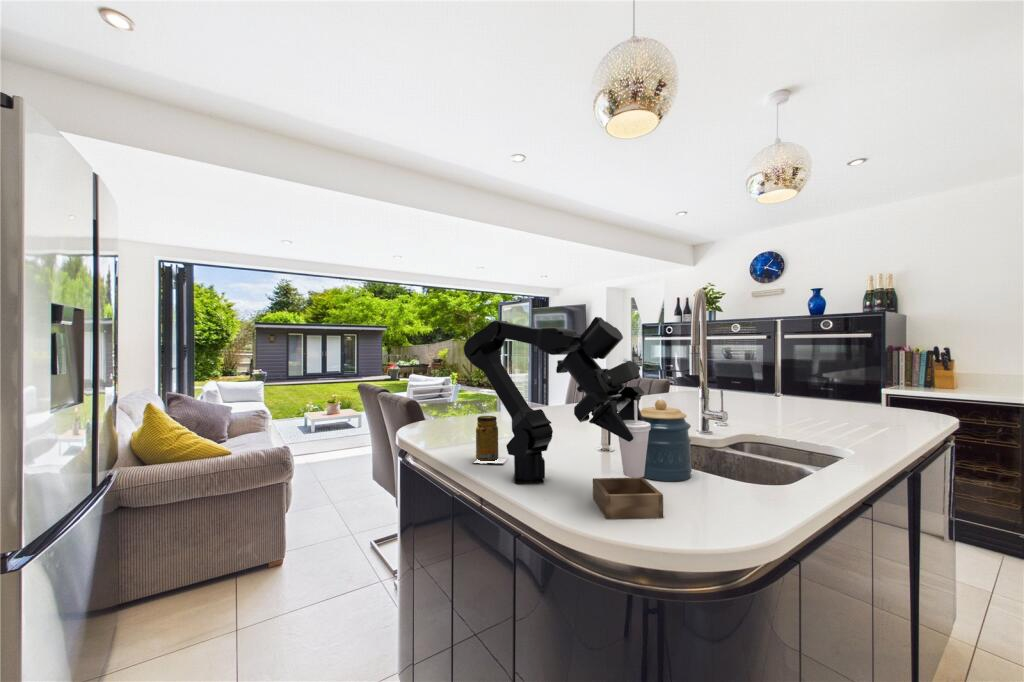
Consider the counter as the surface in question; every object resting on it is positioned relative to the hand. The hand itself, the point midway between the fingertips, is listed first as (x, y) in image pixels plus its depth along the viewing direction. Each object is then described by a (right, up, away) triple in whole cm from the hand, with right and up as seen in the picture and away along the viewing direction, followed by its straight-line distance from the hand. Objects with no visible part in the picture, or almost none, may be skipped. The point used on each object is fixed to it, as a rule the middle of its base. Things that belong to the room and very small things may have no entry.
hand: (639, 437), depth 76 cm
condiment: (-30, -15, +34) cm, 48 cm away
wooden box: (-2, -13, 0) cm, 13 cm away
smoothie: (-1, -7, +1) cm, 8 cm away
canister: (+12, -14, +21) cm, 28 cm away
